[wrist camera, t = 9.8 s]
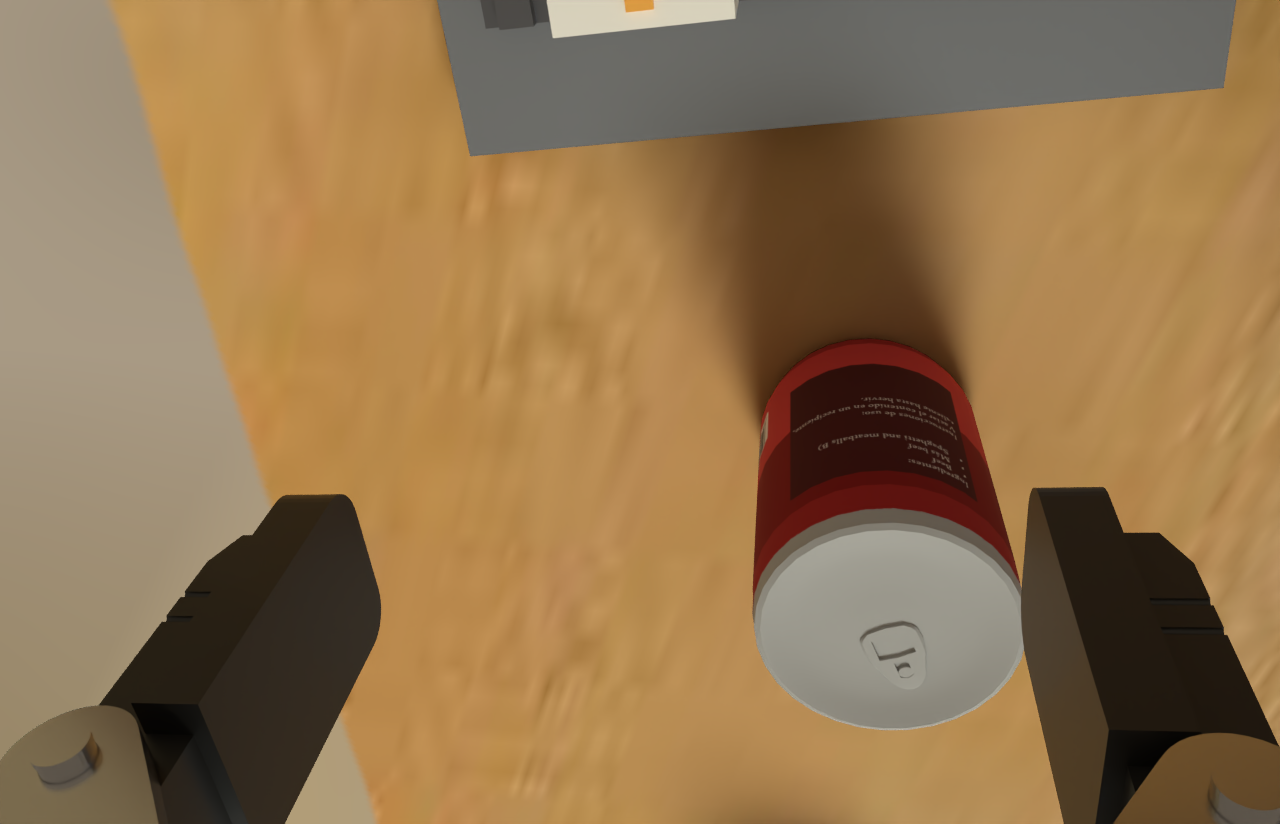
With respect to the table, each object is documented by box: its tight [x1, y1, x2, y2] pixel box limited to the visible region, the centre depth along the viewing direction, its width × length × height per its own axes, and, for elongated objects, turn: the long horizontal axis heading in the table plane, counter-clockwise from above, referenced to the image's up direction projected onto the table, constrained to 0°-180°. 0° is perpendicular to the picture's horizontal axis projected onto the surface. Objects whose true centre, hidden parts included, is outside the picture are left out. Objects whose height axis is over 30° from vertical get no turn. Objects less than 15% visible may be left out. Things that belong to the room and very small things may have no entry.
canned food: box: [753, 339, 1024, 730], centre depth 36 cm, size 8×8×11 cm
